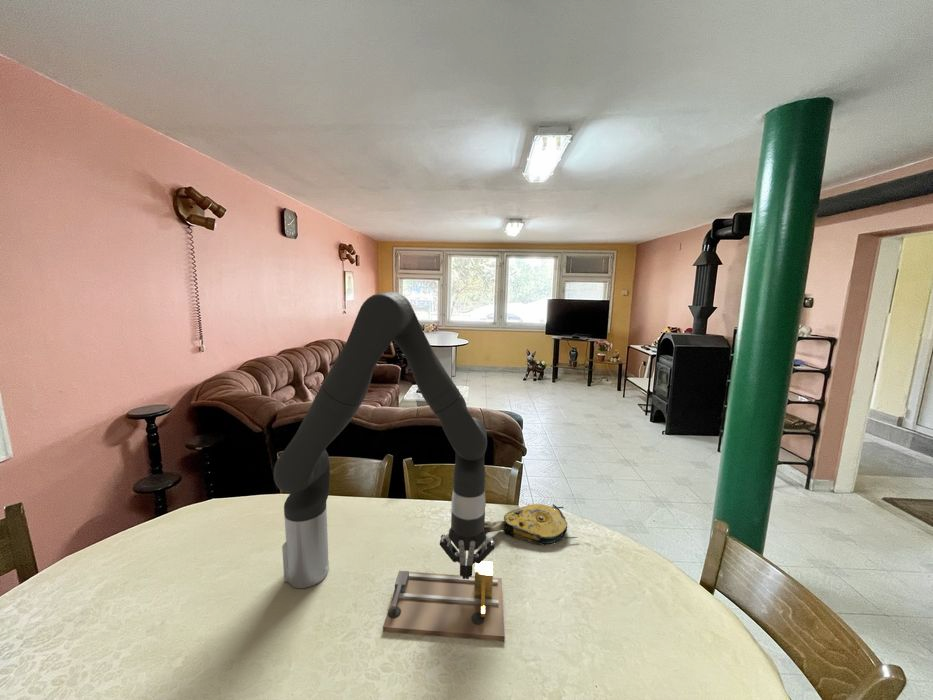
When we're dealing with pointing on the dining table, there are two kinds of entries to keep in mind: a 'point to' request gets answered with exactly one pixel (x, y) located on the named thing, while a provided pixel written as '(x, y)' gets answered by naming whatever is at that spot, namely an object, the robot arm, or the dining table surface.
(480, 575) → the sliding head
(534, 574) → the dining table surface
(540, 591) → the dining table surface
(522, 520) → the pulley block
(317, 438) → the robot arm
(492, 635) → the gauge board
